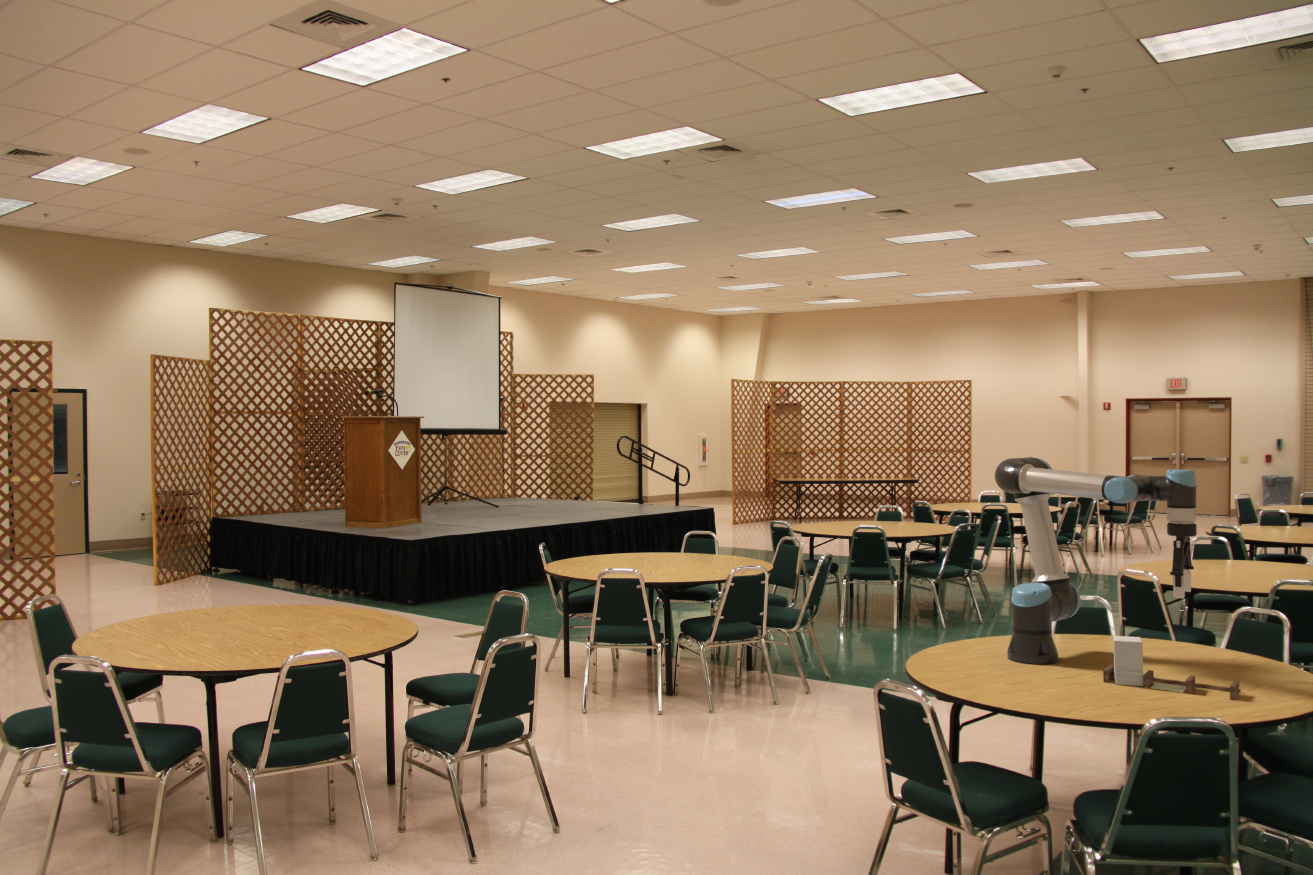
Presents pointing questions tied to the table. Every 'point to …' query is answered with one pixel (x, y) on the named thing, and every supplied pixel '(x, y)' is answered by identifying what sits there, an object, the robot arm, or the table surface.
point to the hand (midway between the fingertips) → (1182, 594)
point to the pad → (1169, 687)
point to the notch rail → (1177, 682)
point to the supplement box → (1128, 660)
